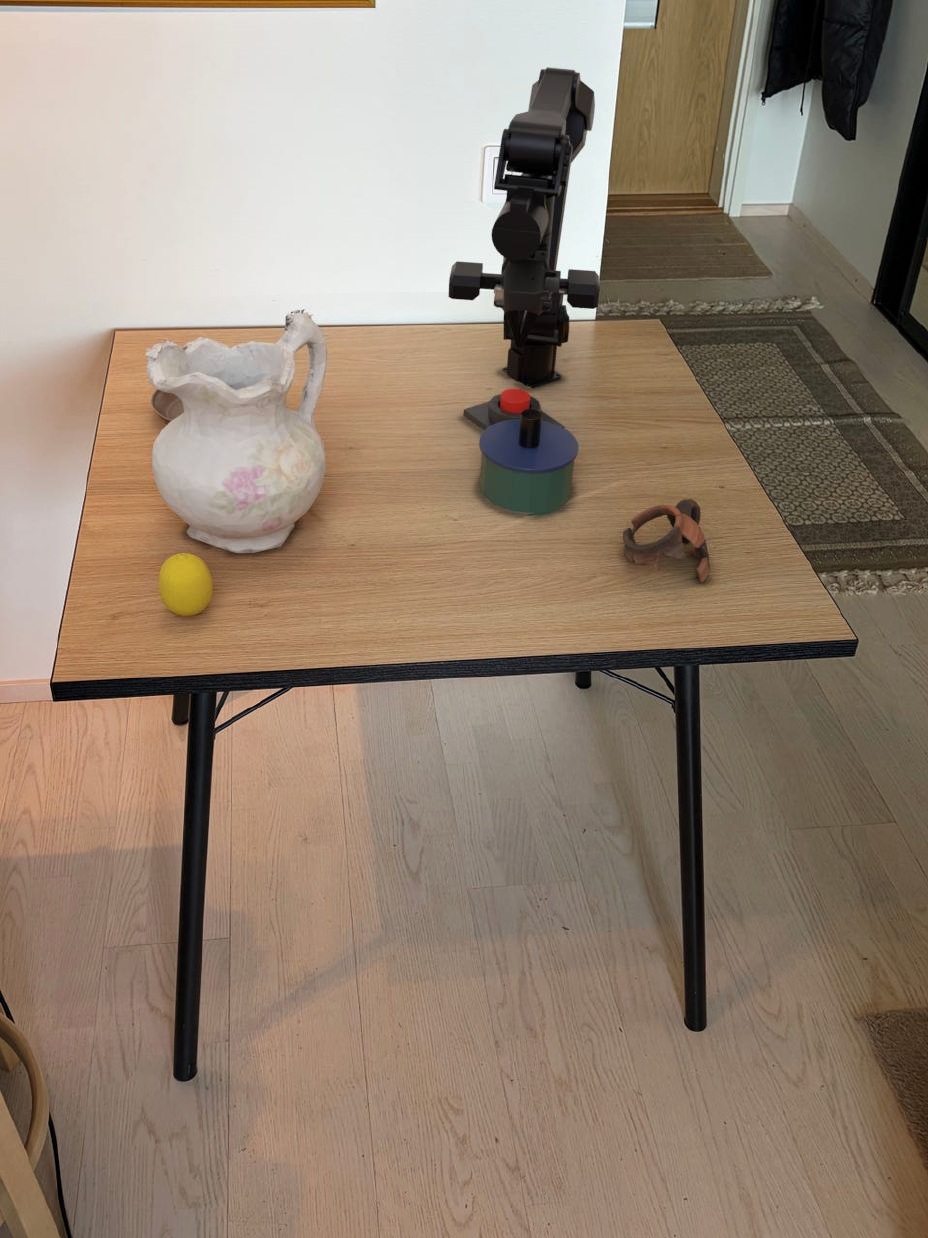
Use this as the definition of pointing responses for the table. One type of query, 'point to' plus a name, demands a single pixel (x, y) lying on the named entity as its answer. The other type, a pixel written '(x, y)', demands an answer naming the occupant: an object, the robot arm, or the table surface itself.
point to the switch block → (500, 413)
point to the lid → (528, 444)
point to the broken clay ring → (669, 536)
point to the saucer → (167, 405)
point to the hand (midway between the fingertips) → (519, 347)
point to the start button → (514, 400)
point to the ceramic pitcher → (240, 436)
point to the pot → (526, 488)
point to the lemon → (185, 584)
